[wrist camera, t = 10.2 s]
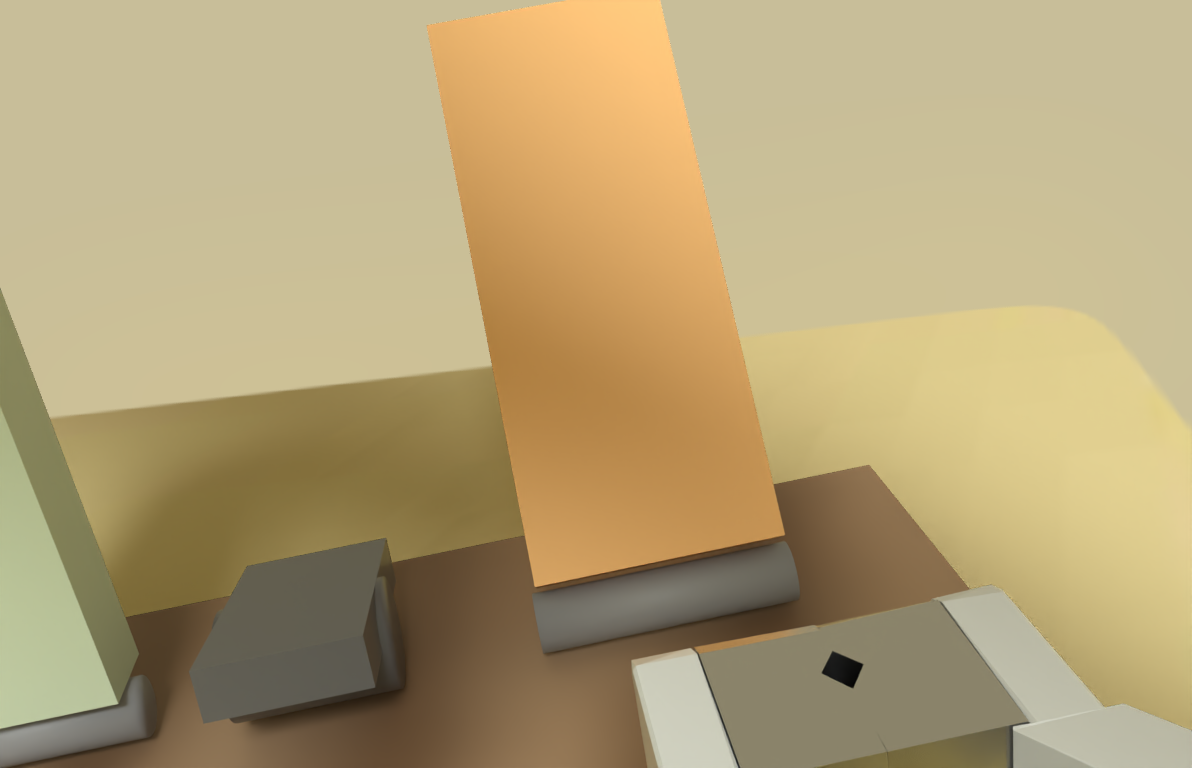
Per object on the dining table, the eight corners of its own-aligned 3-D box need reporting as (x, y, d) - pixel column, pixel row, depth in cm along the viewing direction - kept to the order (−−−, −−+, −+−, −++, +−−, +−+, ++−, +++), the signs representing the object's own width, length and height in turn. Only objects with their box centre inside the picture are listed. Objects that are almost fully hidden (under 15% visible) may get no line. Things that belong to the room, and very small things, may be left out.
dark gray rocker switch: (215, 786, 20) (182, 673, 19) (267, 660, 25) (242, 567, 24) (395, 747, 20) (368, 633, 20) (412, 630, 25) (390, 537, 24)
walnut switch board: (-365, 1120, 18) (-413, 1056, 17) (-94, 718, 27) (-120, 667, 27) (1079, 795, 19) (1079, 726, 19) (873, 517, 29) (868, 464, 28)
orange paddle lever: (542, 655, 22) (421, 26, 24) (544, 652, 23) (431, 61, 26) (805, 599, 22) (660, -17, 24) (790, 600, 24) (655, 21, 26)
